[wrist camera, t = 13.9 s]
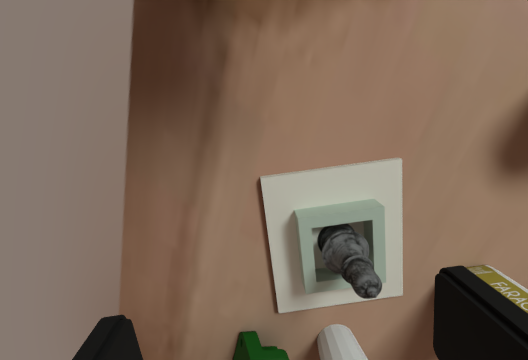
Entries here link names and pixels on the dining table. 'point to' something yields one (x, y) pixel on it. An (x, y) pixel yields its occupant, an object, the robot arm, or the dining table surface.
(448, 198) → the dining table surface
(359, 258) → the chess piece
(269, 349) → the clamp
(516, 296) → the juice carton
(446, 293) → the robot arm
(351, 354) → the white cylinder
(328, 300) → the holder
